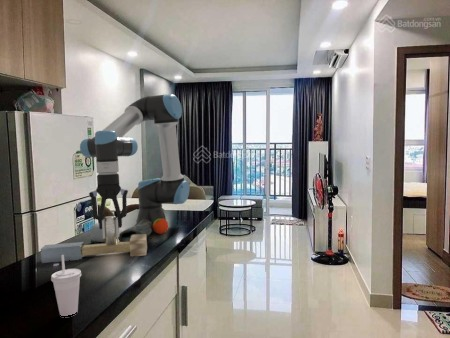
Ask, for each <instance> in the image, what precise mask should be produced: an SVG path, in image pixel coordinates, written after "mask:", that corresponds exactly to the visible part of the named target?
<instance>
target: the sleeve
mask: <svg viewBox="0 0 450 338" xmlns="http://www.w3.org/2000/svg"><path fill="white" fill-rule="evenodd" d="M82 245H85V243H84V241H80V242H66V243H55V244H53V243H51V244H45V245H44V246H42V248H40V254H41V255H40V257H41V259H40V260H41V264H46V263H58V262H62V258H61V255H64V262H68V261H69V260H70V261H80V260H79V259H81V260H83V258H84V257H85V256H82V253H81V247H82Z"/></svg>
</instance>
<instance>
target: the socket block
mask: <svg viewBox="0 0 450 338" xmlns="http://www.w3.org/2000/svg"><path fill="white" fill-rule="evenodd" d="M147 238H148V236H147V237H146V234H137V235H131V238H130V252H129V253H130V255H129V256H130V257H141V256H142V257H143V256H147V251H148V241H147Z"/></svg>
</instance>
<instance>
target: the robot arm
mask: <svg viewBox="0 0 450 338" xmlns="http://www.w3.org/2000/svg"><path fill="white" fill-rule="evenodd" d="M182 107H183V106H182V104H181V102H180V100H179V98H178V97H177V96H176V95H175V94H160V95H150V96H149V95H148V96H143V97H141V98H139V99H137V100H135V101H133V102H132V103H130V105H128V106H127V107H126V108H125V109H124V111H123V113H122V114H121V115H120V116H118V117H117V118H116V119H114V120H113V121H112V122H111V123H109V125H107V126H106V127H105V128H103V129H102V130H97V131H96V132H95V133H94V137H92V138H84V139H83V140H82V141H81V142H80V144H79V150H80V153H81V154H82V156H83V157H86V158H95V159H96V160H95V166H96V174H97V175H96V181H97V183H96V184H97V187H96V190H93V191H90V192H89V193H88V195H89V197H90V199H91V200H90V201H91V207H92V218H93V220H98V223H99V228H100V229H102V230H103V239H104V238H106V235H105V218H104V217H105V216H104V214H105V207H106V202H107V200H111V201H112V202H113V206H114V210H115V212H116V213H115V215H116V237H117V238H118V237H119V236H120V233H121V232H120V228H122V227H123V218H126V217H127V215H128V213H127V211H128V210H127V209H128V207H127V205H128V204H127V196H128V193H129V190H128V189H124V188H122V187H121V186H120V175H119V173H118V172H120V171H119V170H120V169H119V157H130V156H134V155H135V154H136V153H137V151H138V147H139V146H138V141H136V139H135V138H133V137H128V136H125V135H126V134H127V133H129V131H131V130H132V129H134V127H135V126H137V125H141V124H142V123H144V122H146V121H153V123H154V125H155V126H156V127H157V129H158V138H159V140H158V141H159V150H160V156H161V157H160V159H161V167H162V174H163V175H162V177H161V178H160V177H159V178H151V179H150V178H149V179H144V180H141V181H139V182H138V184H137V186H138V187H137V191H138V192H137V193H138V213H137V217H136V223H135V224H136V225H137V224H138V223H139V222H140V221H142V220H143V219H146V220H149V221H150V222H151V223H152V224H153V223H154V222H155V220H157V219H160V218H162V219H165V220H166V221H167V218H166V215H165V212H164V209H163V204H164V205H182V204H185V203H186V202H187V200H188V199H189V194H190V189H191V188H190V184H189V181H187V180H185V176H184V175H183V174H182V173H181V165H180V154H179V145H178V135H177V128H176V126H177V125H178V124H179V119H181V117H182V115H183V108H182ZM119 193H120V195H121V196H122V199H121V201H122V208H121V209H122V212H121V209H120V204H119V202H118V195H119ZM98 195H99V197H100V198H101V200H100V208H99V210H98V204H97V203H98V201H97V196H98ZM98 211H99V213H98Z"/></svg>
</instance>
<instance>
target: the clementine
mask: <svg viewBox="0 0 450 338" xmlns="http://www.w3.org/2000/svg"><path fill="white" fill-rule="evenodd" d="M168 228H169V223H168V221H167V219H166V220H165V219H162V218H160V219H157V220H155V222H154V223H153V228H152V230H154V232H155V233H156V234H158V235H160V234H161V235H162V234H164V233H166V232H168Z"/></svg>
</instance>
